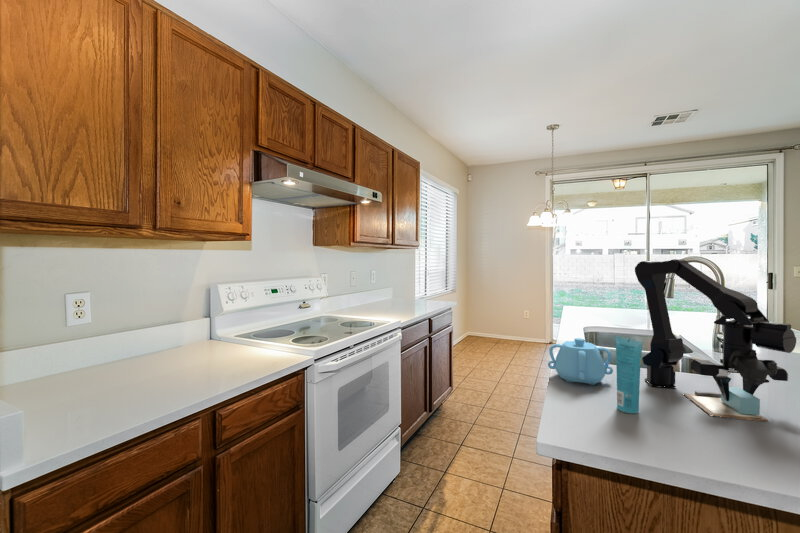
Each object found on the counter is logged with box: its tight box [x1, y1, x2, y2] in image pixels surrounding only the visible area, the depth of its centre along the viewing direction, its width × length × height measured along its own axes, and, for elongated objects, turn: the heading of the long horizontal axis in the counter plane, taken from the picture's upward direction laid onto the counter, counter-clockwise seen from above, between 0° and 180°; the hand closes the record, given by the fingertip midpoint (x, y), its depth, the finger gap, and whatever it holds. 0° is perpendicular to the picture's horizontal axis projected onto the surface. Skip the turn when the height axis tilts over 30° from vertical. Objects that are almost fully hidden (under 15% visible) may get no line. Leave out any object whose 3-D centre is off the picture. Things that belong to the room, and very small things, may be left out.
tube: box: [614, 335, 644, 414], centre depth 97 cm, size 7×5×19 cm, turn 29°
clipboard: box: [682, 390, 770, 422], centre depth 98 cm, size 12×15×1 cm
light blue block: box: [720, 386, 761, 415], centre depth 97 cm, size 10×4×4 cm, turn 164°
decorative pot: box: [547, 337, 614, 386], centre depth 121 cm, size 16×16×14 cm
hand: (736, 401), depth 97 cm, fingers closed on light blue block, 4 cm apart
